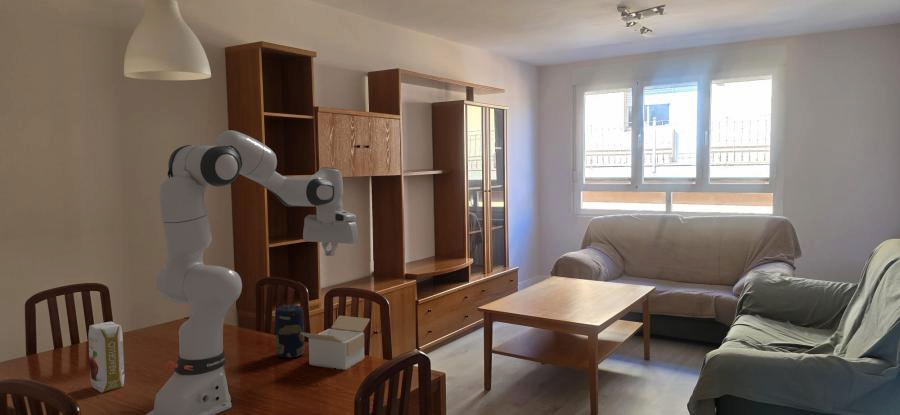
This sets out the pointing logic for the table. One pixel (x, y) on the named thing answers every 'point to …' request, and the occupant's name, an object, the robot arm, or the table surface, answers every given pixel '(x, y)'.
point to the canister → (289, 331)
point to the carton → (337, 349)
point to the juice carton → (106, 356)
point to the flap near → (321, 337)
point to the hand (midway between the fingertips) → (329, 255)
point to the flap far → (350, 323)
